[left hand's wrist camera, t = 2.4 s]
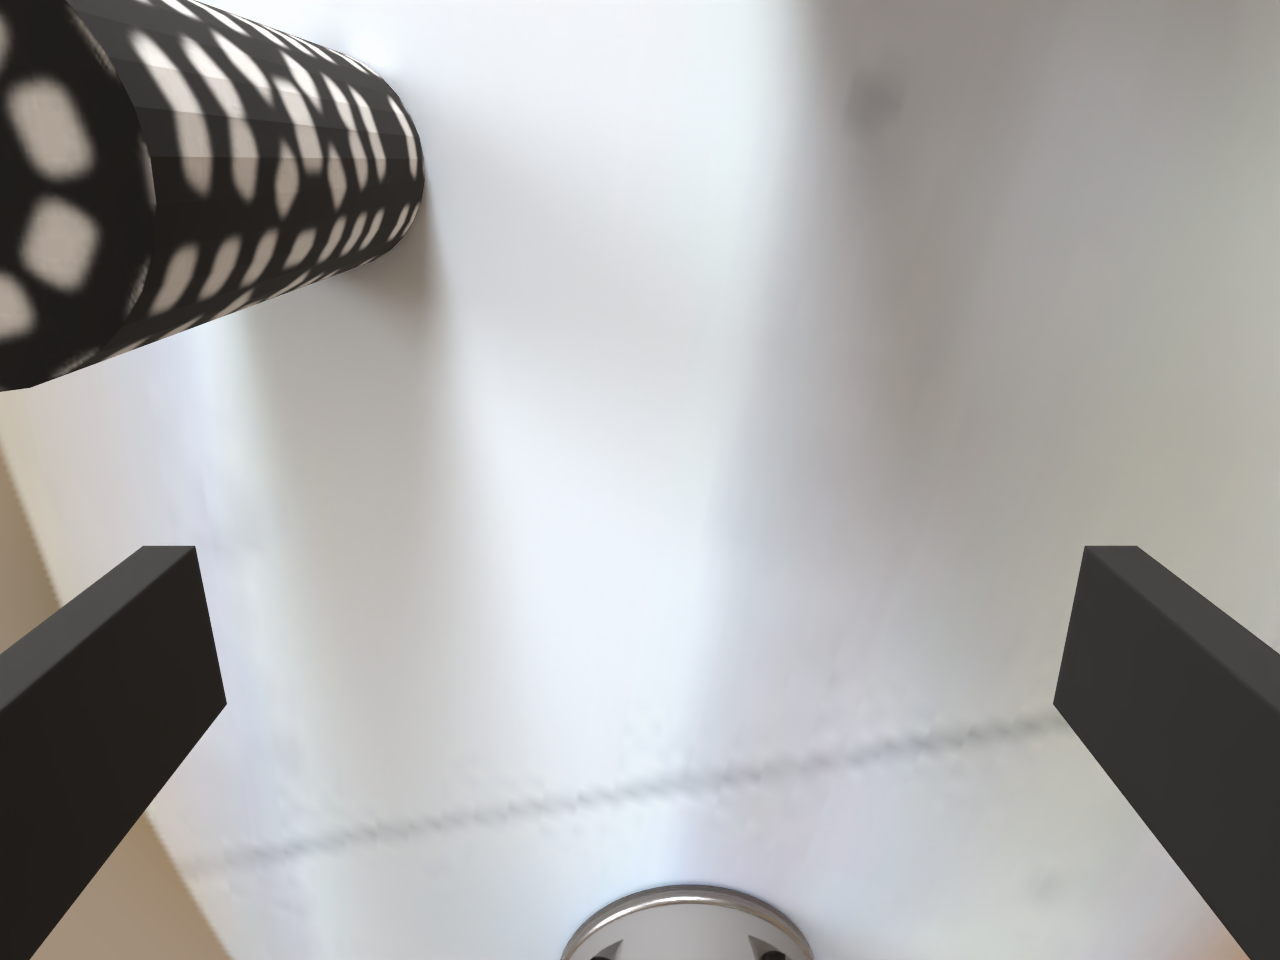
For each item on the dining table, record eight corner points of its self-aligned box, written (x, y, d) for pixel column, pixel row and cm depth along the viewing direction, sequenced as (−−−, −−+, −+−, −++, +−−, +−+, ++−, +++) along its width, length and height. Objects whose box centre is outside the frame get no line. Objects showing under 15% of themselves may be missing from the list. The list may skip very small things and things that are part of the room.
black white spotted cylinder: (461, 126, 33) (226, 81, 14) (370, 307, 36) (70, 469, 17) (264, 0, 32) (-284, -234, 13) (183, 198, 34) (-372, 244, 15)
